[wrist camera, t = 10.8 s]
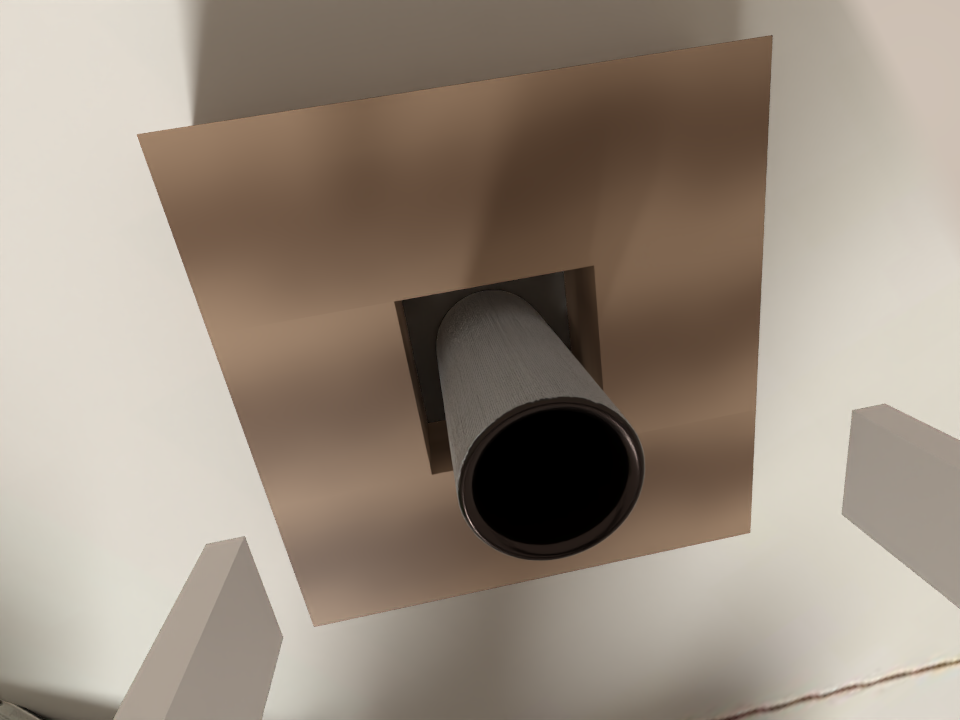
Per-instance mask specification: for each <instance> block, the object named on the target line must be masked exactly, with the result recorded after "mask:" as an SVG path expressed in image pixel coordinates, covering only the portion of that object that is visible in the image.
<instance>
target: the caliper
mask: <svg viewBox="0 0 960 720" xmlns="http://www.w3.org/2000/svg"><path fill="white" fill-rule="evenodd" d="M0 720H45V719H44V718H42V717H40V716H38V715H37V714H35V713H33V712H32V711H30V710H28V709H26V708H24V707H21V706H18V705H15V704H12V703H9V702H6V701H3V700H0Z"/></svg>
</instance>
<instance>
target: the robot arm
mask: <svg viewBox="0 0 960 720" xmlns="http://www.w3.org/2000/svg"><path fill="white" fill-rule="evenodd" d="M842 515H843V516H844V517H846V518H847V519H848V520H849V521H851V522H852V523H853V524H854V525H856V526H857V527H858V528H859V529H861V530H862V531H863V532H864V533H866V534H867V535H868V536H869V537H871V538H872V539H873V540H874V541H876V542H877V543H878V544H879V545H881V546H882V547H883V548H884V549H886V550H887V551H888V552H889V553H891V554H892V555H893V556H894V557H896V558H897V559H898V560H899V561H901V562H902V563H903V564H905V565H906V566H907V567H908V568H910V569H911V570H912V571H913V572H915V573H916V574H917V575H918V576H920V577H921V578H922V579H923V580H925V581H926V582H927V583H928V584H930V585H931V586H932V587H933V588H935V589H936V590H937V591H938V592H940V593H941V594H942V595H943V596H945V597H946V598H947V599H948V600H950V601H951V602H952V603H953V604H955V605H956V606H957V607H958V608H960V440H958V439H956V438H954V437H952V436H950V435H948V434H946V433H944V432H942V431H940V430H938V429H935V428H933V427H931V426H929V425H927V424H925V423H923V422H921V421H919V420H917V419H915V418H913V417H911V416H909V415H907V414H905V413H903V412H901V411H899V410H897V409H895V408H893V407H891V406H889V405H887V404H881V405H876V406H871V407H866V408H861V409H857V410H852V419H851V429H850V438H849V448H848V458H847V467H846V477H845V486H844V496H843V506H842ZM282 640H283V636H282V633H281V631H280V628H279V625H278V623H277V620H276V617H275V615H274V612H273V609H272V607H271V604H270V602H269V599H268V596H267V594H266V591H265V588H264V586H263V583H262V580H261V578H260V575H259V573H258V570H257V567H256V565H255V562H254V559H253V557H252V554H251V552H250V549H249V546H248V544H247V541H246V538H245V536H243V537H238V538H234V539H229V540H224V541H219V542H214V543H209V544H206V545H205V547H204V549H203V551H202V553H201V555H200V557H199V559H198V560H197V562H196V564H195V566H194V568H193V570H192V572H191V574H190V576H189V577H188V579H187V581H186V583H185V585H184V587H183V589H182V591H181V592H180V594H179V596H178V598H177V600H176V602H175V604H174V606H173V607H172V609H171V611H170V613H169V615H168V617H167V619H166V621H165V623H164V624H163V626H162V628H161V630H160V632H159V634H158V636H157V638H156V639H155V641H154V643H153V645H152V647H151V649H150V651H149V653H148V654H147V656H146V658H145V660H144V662H143V664H142V666H141V668H140V670H139V671H138V673H137V675H136V677H135V679H134V681H133V683H132V685H131V686H130V688H129V690H128V692H127V694H126V696H125V698H124V700H123V701H122V703H121V705H120V707H119V709H118V711H117V713H116V715H115V717H114V718H113V720H262V716H263V712H264V709H265V705H266V701H267V697H268V693H269V690H270V686H271V682H272V678H273V674H274V671H275V667H276V663H277V659H278V655H279V652H280V648H281V644H282Z"/></svg>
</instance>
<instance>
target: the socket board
mask: <svg viewBox="0 0 960 720" xmlns="http://www.w3.org/2000/svg"><path fill="white" fill-rule="evenodd" d="M772 37H773V35H771V36H764V37H758V38H752V39H745V40H739V41H732V42H726V43H719V44H713V45H707V46H700V47H694V48H687V49H681V50H675V51H668V52H662V53H655V54H649V55H643V56H636V57H630V58H623V59H617V60H611V61H604V62H598V63H591V64H585V65H578V66H572V67H566V68H559V69H553V70H546V71H540V72H534V73H527V74H521V75H514V76H508V77H502V78H495V79H489V80H482V81H476V82H470V83H463V84H457V85H450V86H444V87H438V88H431V89H425V90H418V91H412V92H405V93H399V94H393V95H386V96H380V97H373V98H367V99H361V100H354V101H348V102H341V103H335V104H329V105H322V106H316V107H309V108H303V109H297V110H290V111H284V112H277V113H271V114H264V115H258V116H252V117H245V118H239V119H232V120H226V121H220V122H213V123H207V124H200V125H194V126H188V127H181V128H175V129H168V130H162V131H156V132H149V133H143V134H137V137H138V139H139V142H140V145H141V148H142V151H143V153H144V156H145V159H146V162H147V164H148V167H149V170H150V173H151V176H152V178H153V181H154V184H155V187H156V189H157V192H158V195H159V198H160V201H161V203H162V206H163V209H164V212H165V214H166V217H167V220H168V223H169V226H170V228H171V231H172V234H173V237H174V239H175V242H176V245H177V248H178V251H179V253H180V256H181V259H182V262H183V264H184V267H185V270H186V273H187V276H188V278H189V281H190V284H191V287H192V289H193V292H194V295H195V298H196V301H197V303H198V306H199V309H200V312H201V314H202V317H203V320H204V323H205V326H206V328H207V331H208V334H209V337H210V339H211V342H212V345H213V348H214V350H215V353H216V356H217V359H218V362H219V364H220V367H221V370H222V373H223V375H224V378H225V381H226V384H227V387H228V389H229V392H230V395H231V398H232V400H233V403H234V406H235V409H236V412H237V414H238V417H239V420H240V423H241V425H242V428H243V431H244V434H245V437H246V439H247V442H248V445H249V448H250V450H251V453H252V456H253V459H254V462H255V464H256V467H257V470H258V473H259V475H260V478H261V481H262V484H263V487H264V489H265V492H266V495H267V498H268V500H269V503H270V506H271V509H272V512H273V514H274V517H275V520H276V523H277V525H278V528H279V531H280V534H281V537H282V539H283V542H284V545H285V548H286V550H287V553H288V556H289V559H290V562H291V564H292V567H293V570H294V573H295V575H296V578H297V581H298V584H299V587H300V589H301V592H302V595H303V598H304V600H305V603H306V606H307V609H308V612H309V614H310V617H311V620H312V623H313V625H314V627H316V626H321V625H326V624H330V623H335V622H340V621H344V620H349V619H353V618H358V617H363V616H367V615H372V614H377V613H381V612H386V611H390V610H395V609H400V608H404V607H409V606H414V605H418V604H423V603H427V602H432V601H437V600H441V599H446V598H451V597H455V596H460V595H464V594H469V593H474V592H478V591H483V590H488V589H492V588H497V587H501V586H506V585H511V584H515V583H520V582H525V581H529V580H534V579H538V578H543V577H548V576H552V575H557V574H562V573H566V572H571V571H575V570H580V569H585V568H589V567H594V566H599V565H603V564H608V563H612V562H617V561H622V560H626V559H631V558H636V557H640V556H645V555H649V554H654V553H659V552H663V551H668V550H673V549H677V548H682V547H686V546H691V545H696V544H700V543H705V542H710V541H714V540H719V539H723V538H728V537H733V536H737V535H742V534H747V533H750V526H751V503H752V481H753V459H754V437H755V414H756V392H757V370H758V348H759V326H760V303H761V281H762V259H763V237H764V214H765V192H766V170H767V148H768V126H769V103H770V81H771V59H772ZM561 271H564V281H565V292H566V302H567V313H568V324H569V334H570V345H571V353H572V354H573V355H574V356H575V358H576V359H577V360H578V361H579V362H580V364H581V365H582V366H583V367H584V368H585V370H586V371H587V372H588V373H589V374H590V376H591V377H592V378H593V379H594V380H595V382H596V383H597V384H598V385H599V386H600V388H601V389H602V390H603V391H604V392H605V394H606V395H607V396H608V397H609V399H610V400H611V401H612V402H613V403H614V405H615V406H616V407H617V408H618V409H619V411H620V412H621V413H622V414H623V415H624V417H625V418H626V419H627V420H628V422H629V423H630V424H631V426H632V427H633V428H634V430H635V432H636V433H637V435H638V437H639V439H640V442H641V444H642V448H643V451H644V457H645V478H644V483H643V487H642V491H641V494H640V496H639V499H638V501H637V503H636V505H635V507H634V509H633V510H632V512H631V513H630V515H629V516H628V517H627V519H626V520H625V521H624V522H623V524H622V525H621V526H620V527H619V528H618V529H617V530H616V531H615V532H614V533H613V534H611V535H610V536H609V537H608V538H606V539H605V540H604V541H602V542H601V543H599V544H597V545H596V546H594V547H592V548H590V549H588V550H586V551H584V552H582V553H579V554H576V555H573V556H570V557H566V558H562V559H556V560H547V561H533V560H524V559H518V558H514V557H511V556H508V555H505V554H503V553H500V552H498V551H496V550H494V549H493V548H491V547H489V546H488V545H487V544H485V543H484V542H483V541H481V540H480V539H479V538H478V537H477V536H476V535H475V534H474V533H473V531H472V530H471V529H470V527H469V526H468V525H467V523H466V521H465V519H464V517H463V515H462V513H461V510H460V507H459V503H458V498H457V492H456V485H455V478H454V471H453V464H452V458H451V451H450V444H449V437H448V430H447V423H446V420H443V421H438V422H432V423H428V421H427V416H426V412H425V407H424V402H423V398H422V393H421V388H420V384H419V379H418V374H417V369H416V365H415V360H414V355H413V351H412V346H411V341H410V336H409V332H408V327H407V322H406V318H405V313H404V308H403V304H402V300H405V299H411V298H416V297H422V296H427V295H433V294H439V293H444V292H450V291H455V290H461V289H466V288H472V287H477V286H483V285H488V284H494V283H500V282H505V281H511V280H516V279H522V278H527V277H533V276H538V275H544V274H550V273H555V272H561Z"/></svg>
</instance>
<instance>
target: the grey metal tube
mask: <svg viewBox="0 0 960 720" xmlns="http://www.w3.org/2000/svg"><path fill="white" fill-rule="evenodd" d="M436 353H437V361H438V368H439V375H440V382H441V389H442V395H443V402H444V409H445V416H446V423H447V430H448V437H449V444H450V451H451V458H452V464H453V471H454V478H455V485H456V492H457V498H458V503H459V507H460V510H461V513H462V515H463V517H464V519H465V521H466V523H467V525H468V526H469V527H470V529H471V530H472V531H473V533H474V534H475V535H476V536H477V537H478V538H479V539H480V540H481V541H483V542H484V543H485V544H487V545H488V546H489V547H491V548H493V549H494V550H496V551H498V552H500V553H503V554H505V555H508V556H511V557H514V558H518V559H524V560H533V561H547V560H556V559H562V558H566V557H570V556H573V555H576V554H579V553H582V552H584V551H586V550H588V549H590V548H592V547H594V546H596V545H597V544H599V543H601V542H602V541H604V540H605V539H606V538H608V537H609V536H610V535H611V534H613V533H614V532H615V531H616V530H617V529H618V528H619V527H620V526H621V525H622V524H623V522H624V521H625V520H626V519H627V517H628V516H629V515H630V513H631V512H632V510H633V509H634V507H635V505H636V503H637V501H638V499H639V496H640V494H641V491H642V487H643V483H644V478H645V457H644V451H643V448H642V444H641V442H640V439H639V437H638V435H637V433H636V432H635V430H634V428H633V427H632V426H631V424H630V423H629V422H628V420H627V419H626V418H625V417H624V415H623V414H622V413H621V412H620V411H619V409H618V408H617V407H616V406H615V405H614V403H613V402H612V401H611V400H610V399H609V397H608V396H607V395H606V394H605V392H604V391H603V390H602V389H601V388H600V386H599V385H598V384H597V383H596V382H595V380H594V379H593V378H592V377H591V376H590V374H589V373H588V372H587V371H586V370H585V368H584V367H583V366H582V365H581V364H580V362H579V361H578V360H577V359H576V358H575V356H574V355H573V354H572V353H571V352H570V350H569V349H568V348H567V347H566V346H565V344H564V343H563V342H562V341H561V340H560V338H559V337H558V336H557V335H556V334H555V332H554V331H553V330H552V329H551V328H550V326H549V325H548V324H547V323H546V322H545V320H544V319H543V318H542V317H541V316H540V314H539V313H538V312H537V311H536V310H535V309H534V308H533V307H532V306H531V305H530V304H529V303H528V302H526V301H525V300H524V299H522V298H521V297H519V296H517V295H515V294H512V293H509V292H506V291H500V290H486V291H481V292H477V293H474V294H471V295H469V296H467V297H465V298H463V299H462V300H460V301H459V302H458V303H456V304H455V305H454V306H453V307H452V308H451V309H450V310H449V311H448V313H447V314H446V315H445V317H444V319H443V320H442V322H441V325H440V327H439V330H438V334H437V342H436Z"/></svg>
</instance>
